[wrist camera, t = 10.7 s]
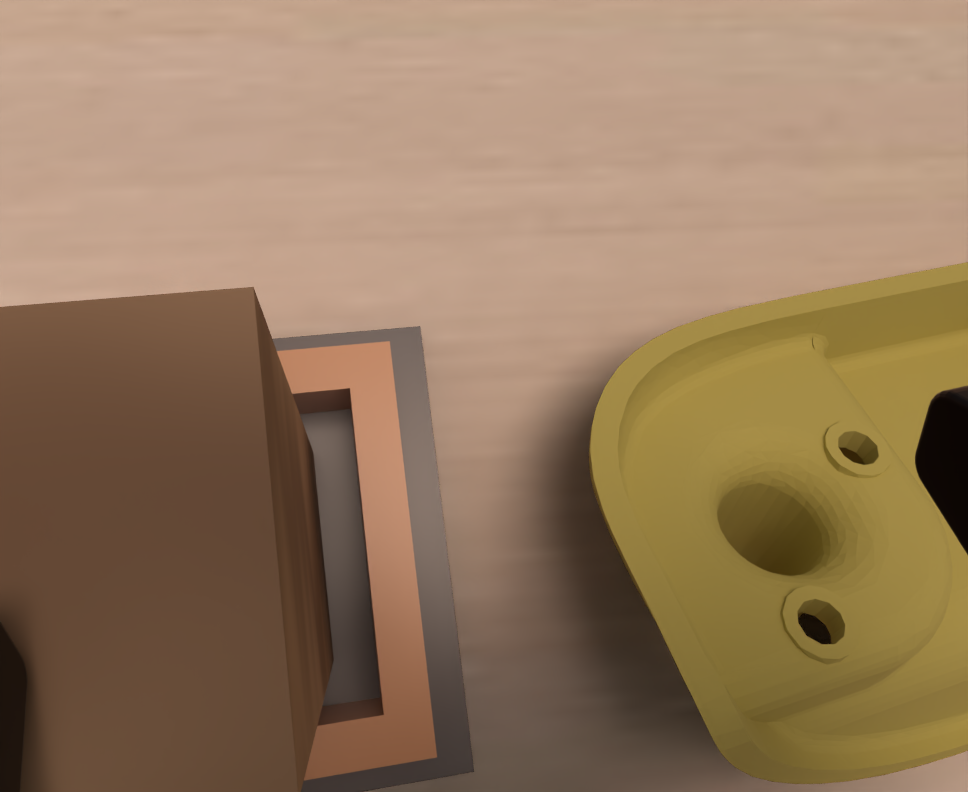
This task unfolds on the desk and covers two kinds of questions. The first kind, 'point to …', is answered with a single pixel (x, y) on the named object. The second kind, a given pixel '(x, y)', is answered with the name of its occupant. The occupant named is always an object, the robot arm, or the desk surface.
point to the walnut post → (159, 546)
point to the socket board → (380, 564)
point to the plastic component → (799, 523)
